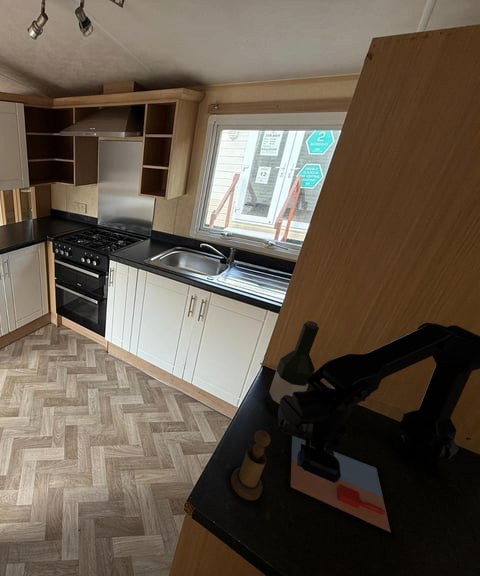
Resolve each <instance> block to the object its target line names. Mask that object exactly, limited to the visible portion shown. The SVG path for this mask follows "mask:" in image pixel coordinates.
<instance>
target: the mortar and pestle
mask: <svg viewBox="0 0 480 576" xmlns="http://www.w3.org/2000/svg"><path fill="white" fill-rule="evenodd" d="M253 436H254V437H253V438H254V441H255V443H254V444H253V445H252V447H249V448H248V449H247V450H246V452H245V456H244V458H243V462H242V465H241V467H237V468H235V469H234V470H233V471H232V474H231V476H230V485H231V487H232V489H233V491H234V492H235V493H236V494H237V495H238V496H240V497H241V498H242V499H244V500H248V501H256V500H258V499H260V497H261V495H262V492H263V488H264V486H263V482H262V479H261V476H262V474H263V471H264V468H265V466H266V464H267V461H268V459H267V456H266V454H265V452H266V449H265V447H268V446H269V445H270V443H271V441H272V440H271V436H270V434H269V433H268V432H267V431H265V430H261V429H259V430H257V431H256V432H255V433H254V435H253Z"/></svg>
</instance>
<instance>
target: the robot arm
mask: <svg viewBox="0 0 480 576" xmlns="http://www.w3.org/2000/svg"><path fill="white" fill-rule="evenodd" d="M431 357H432V358H433V361H434V362H435V365H434V368H433V371H432V374H431V376H430V379H429V382H428V384H427V387H426V389H425V392H424V395H423V397H422V400H421V402H420V405H419V407H418V408H416V409H413V410H409V411H407V412H406V413H403V415H402V419H401V420H400V429H401V430H402V431H404V432H405V434H404V435H403V434H402V435H401V436H400V437H399V439H398V440H397V441H395V445H394V446H395V450H396V453H397V455H399V458H400V460H401V461H402V462H404V463H406V464H410V465H412V466H414V467H418V468H420V469H423V470H426V471H429V472H431V473H434V474H436V473H437V470H436V468H435V467H436V464H437V463H438V462H439V461H440V459H441V458H442V459H444V460H450V459H451V458H452V456H455V455H456V454H457V452H459V450H460V448H459V446H458V445H457V443H456V441H455V438H456V434H457V429H456V426H455V425H454V423H453V420H452V415H453V414H454V411H455V409H456V406H457V405H458V402H459V400H460V398H461V396H462V395H463V391H464V390H465V387H466V385H467V383H468V381H469V379H470V377H471V374H472V373H473V372H474V371H478V370H480V335H478V334H477V333H474V332H472V331H470V330H468V329H466V328H463V327H461V326H459V325H456V324H453V325H449V326H445V325H442V324H439V323H436V322H433V323H432V322H425V323H422V324H421V325H419V326H418V327H417V328H416V330H414V331H411V332H409V333H407V334H405V335H403V336H400V337H399V338H396V339H394V340H393V341H391V342H388V343H385V344H384V345H381V346H380V347H379V346H378V347H377V348H375V349H373V350H370V351H369V352H365V353H362V354H361V353H346V354H343V355H340V356H337V357H335V358H332V359H329V360H327V361H326V362H325V363H324V364H322V365H321V366H320V367H319V368H318V369H316V370H315V371H314V373H313V374H312V375H311V376H310V377H309V378H308V379H307V380H306V381H305V382H306V383H307V384H308V386H309V387H310V388H309V390H306V391H297V392H293V394H290V395H285V396H283V397H282V398H281V399H280V407H279V410H278V414H277V421H278V429H279V430H280V431H282V433H283V434H284V435H286V436H291V437H292V436H295V437H298V436H300V434H303V438H304V439H305V441H306V442H305V445H304V444H301V467H302V468H303V469H304V470H305V471H307V472H310V473H312V474H315V475H317V476H319V477H322V478H324V479H326V480H329V481H331V482H333V483H336V482H338V480H339V479H340V477H341V473H340V464H339V461H338V460H337V458H336V457H334V452H335V451H334V452H333V449H331V447H332V448H334V449H339V445H340V443H339V437H340V436H341V435H342V436H345V434H346V432H347V429H346V423H347V422H348V420H349V418H350V417H351V414H352V412H353V410H354V408H355V406H356V405H358V404H359V403H362V402H365V401H366V400H367V398H369V397H370V396H371V394H372V393H374V392H376V391H377V390H378V389H379V387H380V385H381V383H382V380H384V379H385V378H387V377H390V376H391V375H393V374H396V373H397V372H400V371H402V370H404V369H407V368H409V367H411V366H413V365H415V364H418V363H420V362H422V361H424V360H426V359H429V358H431ZM323 379H324V381H326V382H327V383H328V384H329V385H330V386H327V385H326V384H325V383H324V382H323V381H322V380H323ZM324 448H325V450H324Z"/></svg>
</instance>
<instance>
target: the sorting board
mask: <svg viewBox="0 0 480 576" xmlns="http://www.w3.org/2000/svg"><path fill="white" fill-rule="evenodd" d="M305 442H306V439H303V438H300V437H298V436H292V435H291V466H290V488H292V489H295V490H297V491H299V492H301V493H302V494H305V495H308V496H309V497H312V498H314V499H317V500H319V501H320V502H323V503H325V504H327V505H330V506H331V507H334V508H337V509H339V510H340V511H343V512H345V513H347V514H349V515H352V516H354V517H357V519H358V518H359V519H360V520H363V521H365V522H366V523H369V524H371V525H373V526H376V527H378V528H381V529H382V530H384V531H387V532H389V533H391V532H392V531H391V526H390V523H389V518H388V513H387V510H386V505H385V501H384V500H385V499H384V496H383V491H382V487H381V482H380V478H379V473H378V469H377V467H375V466H372V465H369V464H367V463H364V462H362V461H359V460H357V459H354V458H352V457H350V456H347V455H344V454H341V453H339V452H336V451H333V450H332V451H333V452H334V457H336V458H337V460H338V461H339V464H340V473H341V477H340V479H339V480H338V482H336V483H333V482H331V481H329V480H326V479H324V478H322V477H319V476H317V475H315V474H312V473H310V472H307V471H305V470H304V469H303V468H302V467H300V466H297V455H298V453H299V450H300V451H301V444H304V445H305ZM324 450H325V448H324ZM339 484H341V485H343V486H346V487H348V488H350V489H353V490H355V491H358V492H359V496H360V499H361V500H363V501H366V502H368V503H370V504H373V505H375V506H377V507H380V508H382V509H383V510H384V511H385V514H384V515H381V514H379V513H377V512H374V511H372V510H370V509H367V508H365V507H363V506H361V505H360V506H359V508H358V509H357V508H355V507H353V506H350V505H348V504H346V503H344V502H341V501H339V500H338V495H337V487H338V486H339Z"/></svg>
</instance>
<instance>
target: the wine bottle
mask: <svg viewBox="0 0 480 576" xmlns="http://www.w3.org/2000/svg"><path fill="white" fill-rule="evenodd" d="M319 329H320V327H319V324H318V323H317V322H315V321H312V320H307V321H306V322H305V323H304V324H303V325H302V328H301V331H300V333H299V336H298V339H297V341H296V343H295V344H296V345H295V347H294V349H293V350H291V351H290V352H288V353H287V354H285V355H284V356H282V357H281V358H279V362H278V364H277V367H276V371H275V373H274V376H273V379H272V382H271V385H270V388H269V392H268V395H267V397H266V400H265V403H266V404H267V406H268V409H269V410H271V411H272V412H274V413H275V414H277V415H278V410H279V407H280V399H281V398H282V397H283V396H285V395H290V394H293V392H297V391H308V388H309V385H308V384H307V383H306V382H305V381H306V380H307V379H308V378H309V377H310V376H311V375H312V374H313V373H315V372H316V368H315V366H314V363H313V361H312V358H311V355H310V353H311V350H312V348H313V345H314V343H315V341H316V340H315V339H316V337H317V335H318V333H319Z"/></svg>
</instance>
